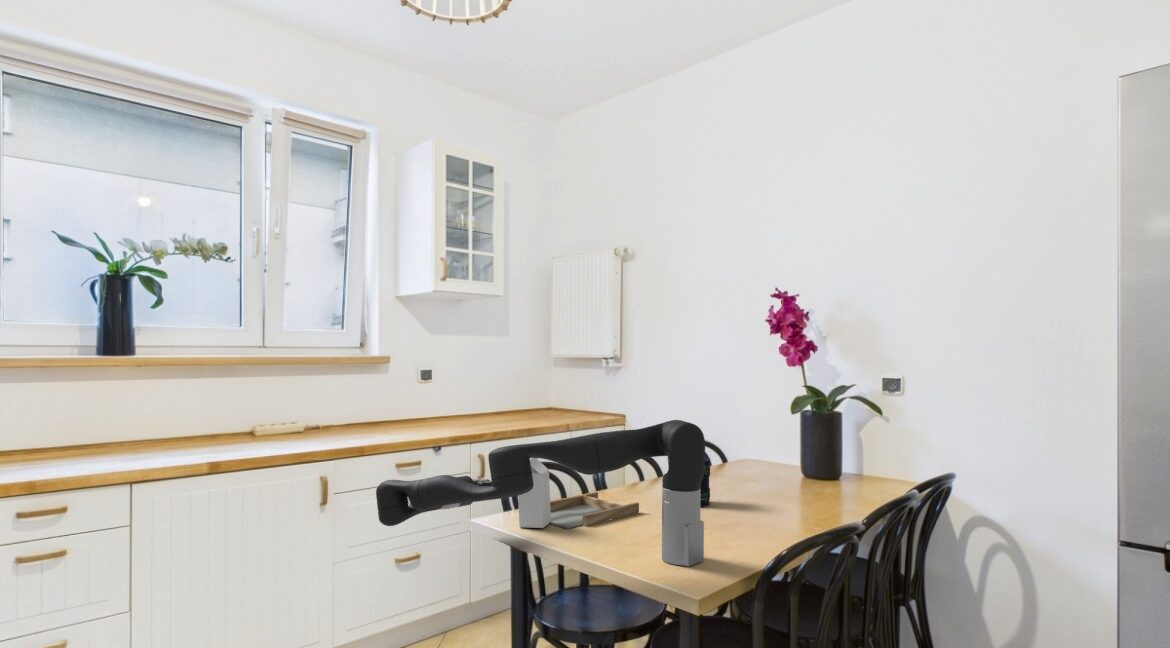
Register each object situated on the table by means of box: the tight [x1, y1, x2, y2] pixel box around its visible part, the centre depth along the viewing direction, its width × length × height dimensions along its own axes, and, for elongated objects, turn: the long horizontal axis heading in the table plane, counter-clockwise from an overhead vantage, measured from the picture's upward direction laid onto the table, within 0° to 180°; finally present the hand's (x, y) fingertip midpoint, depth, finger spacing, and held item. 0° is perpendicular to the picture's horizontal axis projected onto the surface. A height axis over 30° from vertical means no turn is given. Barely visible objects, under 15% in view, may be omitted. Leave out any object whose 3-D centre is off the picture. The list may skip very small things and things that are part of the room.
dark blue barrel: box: [700, 456, 711, 508], centre depth 204 cm, size 10×10×15 cm
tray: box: [550, 491, 640, 530], centre depth 189 cm, size 19×29×3 cm
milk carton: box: [517, 458, 551, 529], centre depth 177 cm, size 7×7×19 cm
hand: (507, 483), depth 170 cm, fingers closed
